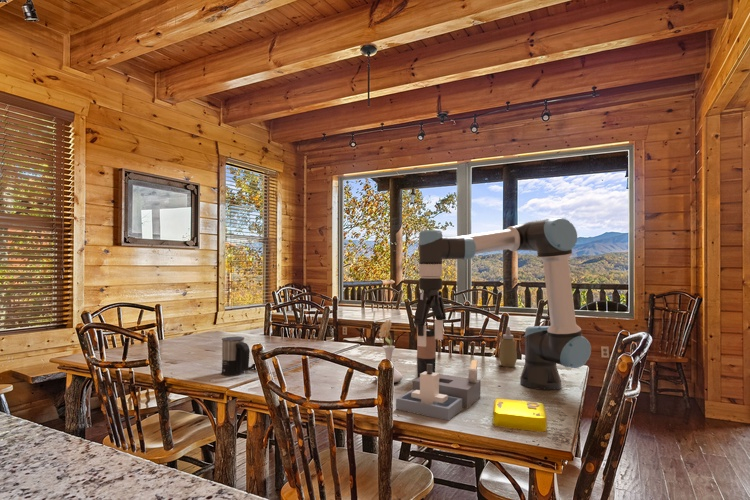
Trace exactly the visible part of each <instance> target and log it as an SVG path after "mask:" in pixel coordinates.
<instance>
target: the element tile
mask: <svg viewBox="0 0 750 500" xmlns="http://www.w3.org/2000/svg"><path fill="white" fill-rule="evenodd" d="M493 402H494V403H493V408H492V425H493V426H495V427H497V428H498V427H499V428H505V429H506V428H507V429H515V430H523V431H531V432H539V433H541V432H543V433H544V431H545V432H547V431H546V430H547V429H548V428H547V427H548V424H547V423H548V417H547V412H546V409H545V404H543V403H541V402H537V401H528V400H517V399H509V398H507V399H506V398H496V399H494V401H493Z"/></svg>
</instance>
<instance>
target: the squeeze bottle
mask: <svg viewBox="0 0 750 500" xmlns="http://www.w3.org/2000/svg"><path fill="white" fill-rule="evenodd" d="M499 345H500V347H499V355H498V357H499V358H498V359H499V362H500V365H501V366H502V367H505V368H514V367H515V366H516V363H517V360H518V355H517V345H516V340H515V339H514V335H513V334H512V332H511V328H510V327H509V326H507V327H506V331H505V334H502V339H501V340H500V344H499Z"/></svg>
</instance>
